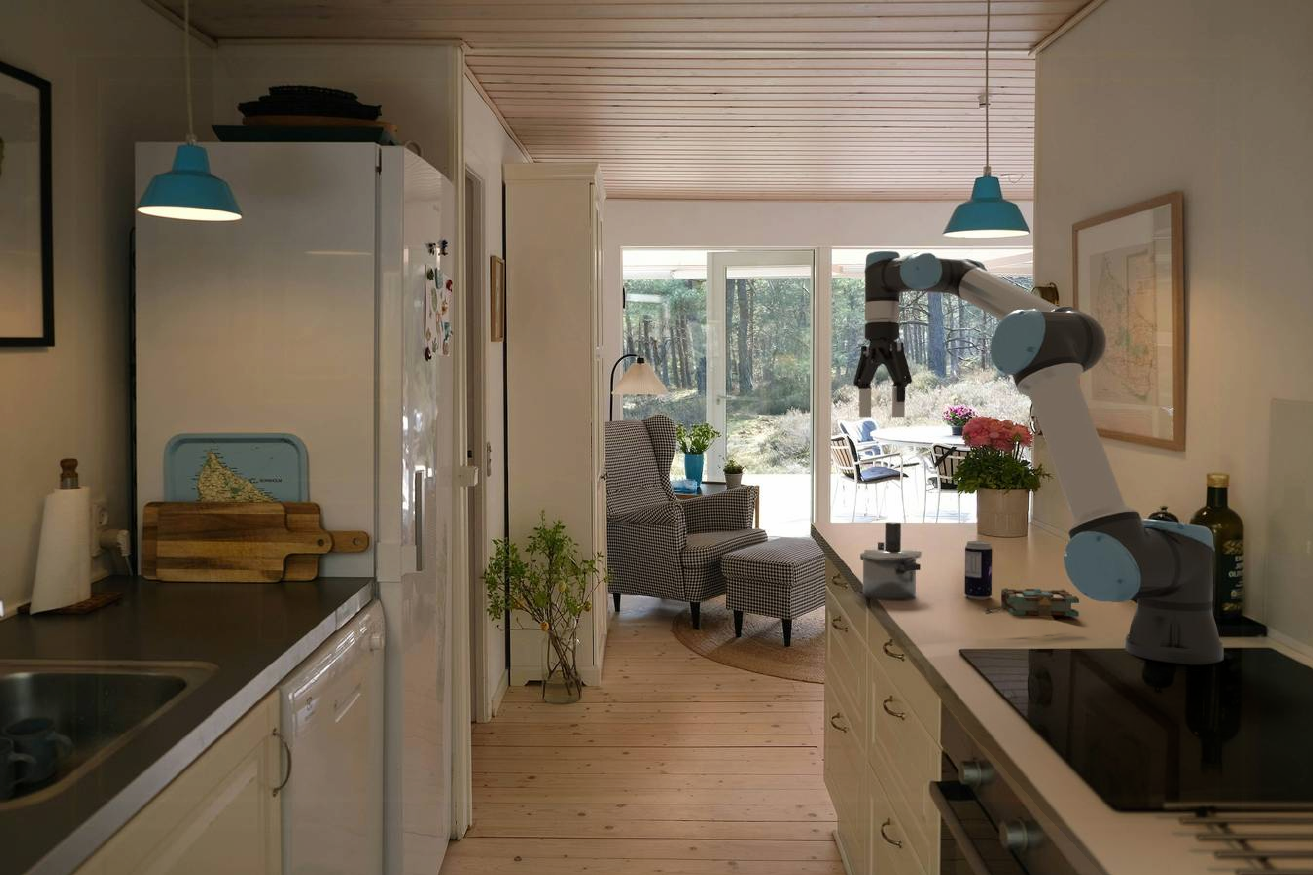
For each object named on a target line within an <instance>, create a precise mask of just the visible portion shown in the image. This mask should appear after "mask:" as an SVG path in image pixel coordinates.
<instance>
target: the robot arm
mask: <svg viewBox="0 0 1313 875" xmlns="http://www.w3.org/2000/svg"><path fill="white" fill-rule="evenodd" d="M906 292H926V293H928V292H929V293H938V294H939V293H942V294H951V295H953V296H955V297H957V298H959V299H961V300H963V301H965V302H967V303H969V304H970V305H972V306H974V307H976V308H978V309H980V310H981V311H984V312H985V313H987V314H989V315H991V316H992V317H994V318H995V319H997V320H999V323H998V324H997V326H996V328H995V330H994V334H993V336H991V343H990V355H991V356H990V357H991V360H992V363H993V365H994V366H995V368H996V369H997V370H998V371H999V372H1002V374H1003V373H1004V374H1005V375H1008V376H1012V378H1013V381H1014V384H1015V387H1016V389H1017V392H1018V393H1020V394H1022V395H1024V396H1027V397H1028V398H1029V399H1030V403H1031V406H1032V408H1033V411H1034V414H1035V416H1036V420H1037V422H1038V425H1039V428H1040V431H1041V433H1042V436H1043V439H1044V442H1045V444H1046V447H1047V449H1048V453H1049V456H1050V458H1051V461H1052V463H1053V464H1052V465H1053V466H1054V469H1055V473H1056V475H1057V478H1058V480H1059V484H1060V486H1061V488H1062V492H1063V494H1064V497H1065V498H1064V499H1066V502H1067V506H1068V507H1069V508H1068V509H1069V512H1070V515H1071V518H1072V523H1071V525H1070V526H1069V528H1068V530H1067V534H1068V536H1069V539H1070V540H1069V541H1068V542H1067V544H1066V546H1065V552H1066V554H1064V556H1063V565H1064V569H1065V572H1066V574H1067V577H1068V579H1069V581H1070V582H1071V584H1072V585H1073V586H1074V587H1075V588H1076V590H1078V592H1079V593H1081V594H1083V596H1086V597H1087V598H1089V599H1091V600H1094V601H1096V602H1097V601H1098V602H1112V603H1122V602H1123V603H1124V602H1126V601H1129V600H1137V602H1136V609H1135V612H1134V616H1133V618H1132V621H1131V625H1130V628H1129V631H1128V633H1127V634H1126V636H1125V651H1126V652H1127V653H1129V654H1130V655H1132V656H1135V657H1138V658H1142V659H1146V660H1150V661H1156V662H1161V663H1169V664H1177V665H1178V664H1181V665H1212V664H1217V663H1221V662H1222V661H1224V645H1223V642H1222V641H1221V640H1220V636H1219V633H1218V629H1217V628H1218V627H1217V625H1216V621H1215V619H1214V615H1213V595H1214V594H1213V591H1214V589H1213V588H1214V553H1215V550H1216V549H1215V547H1214V536H1213V532H1212V530H1211V529H1210V528H1209V527H1208V526H1205V525H1198V524H1190V523H1184V522H1174V521H1165V520H1155V519H1148V518H1147V519H1145V518H1141V515H1140V512H1139V511H1138V510H1136V509H1134V508H1132V507H1130V506H1127V505H1126V503H1125V501H1124V498H1123V496H1122V493H1121V490H1120V488H1119V485H1118V483H1117V481H1116V480H1117V479H1116V477H1115V475H1114V472H1113V470H1112V466H1111V465H1110V461H1109V459H1108V456H1107V453H1106V451H1105V449H1104V446H1103V443H1102V441H1101V437H1100V435H1099V433H1098V430H1097V426H1096V424H1095V422H1094V420H1093V416H1092V414H1091V411H1090V409H1089V406H1088V403H1087V401H1086V399H1085V396H1084V394H1083V390H1082V388H1081V385H1080V383H1079V379H1080V377H1081V375H1082V374H1083V373H1086V372H1087V371H1089V370H1091V369H1093V368H1094V367H1095V366H1096V365H1098V363H1099V362H1100V360H1101V359H1102V357H1103V356H1104V353H1105V349H1106V347H1107V339H1106V334H1105V331H1104V328H1103V326H1102V324H1100V323H1099V322H1098V320H1096V319H1095V318H1094V317H1092V316H1091V315H1089V314H1087V313H1085V312H1083V311H1080V310H1078V309H1076V308H1074V307H1071V306H1070V305H1069V306H1068V305H1063V306H1060V307H1059V306H1058V305H1056V304H1054V303H1052V302H1050V301H1048V300H1045V299H1044V298H1042V297H1040V296H1038V295H1035V294H1033V293H1032V292H1029V291H1027V290H1025V289H1024V288H1022V287H1019V286H1017V285H1015V284H1013V283H1011V282H1009V281H1007V280H1005V279H1003V278H1001V277H999V276H997V275H995V274H993V273H992V272H990V271H988V269H987V268H986V266H985V264H983V263H982V262H981V261H977V260H973V259H970V258H969V259H968V258H965V259H964V258H951V257H939V256H936V255H935V254H933V253H931V252H915V253H913V254H912V253H911V254H910V255H905V256H901V255H900V253H899V252H898V251H894V250H879V251H878V250H877V251H871V252H869V253H868V254H866V257H865V267H864V321H866V323H865V324H864V339H865V340H866V341H869V345H867V344H864V345H861V346H860V355H859V359H858V362H857V367H856V372H855V375H854V379H853V384H852V385H853V386H854V387H857V389H858V401H859V402H858V417H859V418H872V386H871V384H872V383H873V382H872V381H873V380H874V377H875V375H876V373H877V371H878V369H879V367H880V366H882V365H883V366H885V368H886V371H887V373H888V374H889V377H890V379H891V380H892V385H891V418H905V417H906V416H905V415H906V413H905V412H906V411H905V410H906V409H905V402H906V388H907V387H908V385H909V384H912V383H913V379H912V376H911V371H910V369H909V368H910V367H909V364H908V360H907V358H906V354H905V344H904V342H903V341H896V340H899V338H900V323H899V322H897V321H899V320H900V294H901V293H906Z"/></svg>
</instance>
